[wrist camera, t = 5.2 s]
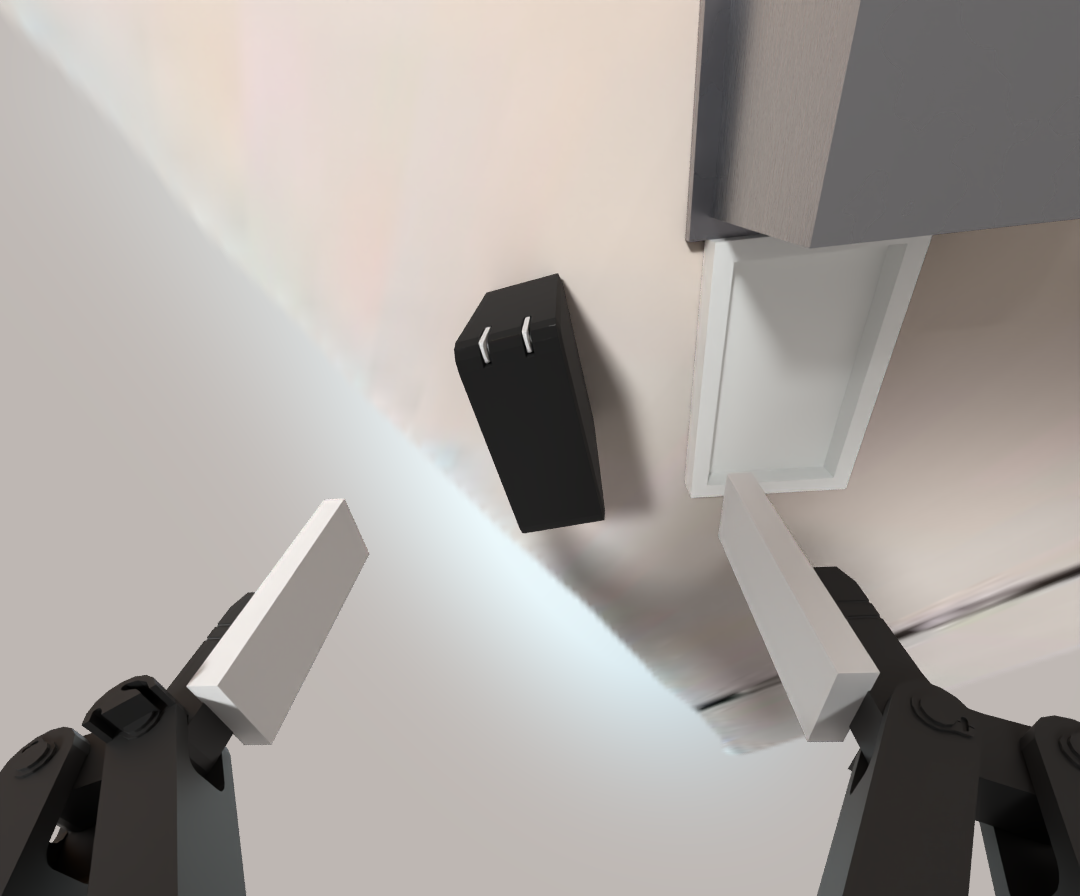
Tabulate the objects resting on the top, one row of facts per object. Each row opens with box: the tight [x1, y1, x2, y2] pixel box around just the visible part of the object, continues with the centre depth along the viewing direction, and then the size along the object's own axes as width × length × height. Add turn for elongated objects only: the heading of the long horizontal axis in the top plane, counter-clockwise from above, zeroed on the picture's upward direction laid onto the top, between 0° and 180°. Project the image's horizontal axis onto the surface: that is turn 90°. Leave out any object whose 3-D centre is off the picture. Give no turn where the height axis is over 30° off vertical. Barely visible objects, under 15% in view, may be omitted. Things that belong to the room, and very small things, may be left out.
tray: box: [684, 234, 932, 498], centre depth 25 cm, size 16×10×2 cm, turn 7°
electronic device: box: [454, 273, 605, 533], centre depth 22 cm, size 4×10×10 cm, turn 15°
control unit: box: [685, 0, 1080, 249], centre depth 15 cm, size 10×14×11 cm
